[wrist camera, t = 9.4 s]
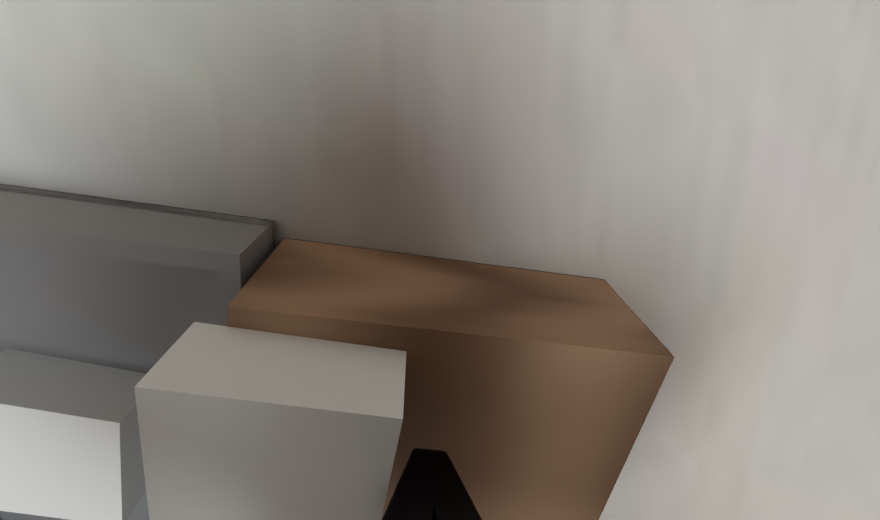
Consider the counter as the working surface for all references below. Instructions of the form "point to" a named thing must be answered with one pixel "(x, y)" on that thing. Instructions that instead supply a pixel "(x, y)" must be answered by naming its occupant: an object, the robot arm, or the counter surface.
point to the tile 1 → (68, 438)
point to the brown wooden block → (482, 365)
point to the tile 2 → (269, 427)
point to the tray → (116, 278)
